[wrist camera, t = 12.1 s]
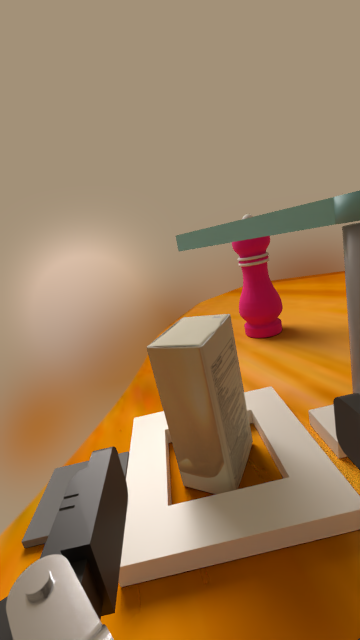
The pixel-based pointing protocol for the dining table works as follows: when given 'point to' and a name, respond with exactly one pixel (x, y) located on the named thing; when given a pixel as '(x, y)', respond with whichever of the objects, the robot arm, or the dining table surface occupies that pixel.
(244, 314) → the pepper mill
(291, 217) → the swing bar
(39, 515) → the coaster
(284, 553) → the dining table surface
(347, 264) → the holder
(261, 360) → the dining table surface
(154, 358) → the skincare box
